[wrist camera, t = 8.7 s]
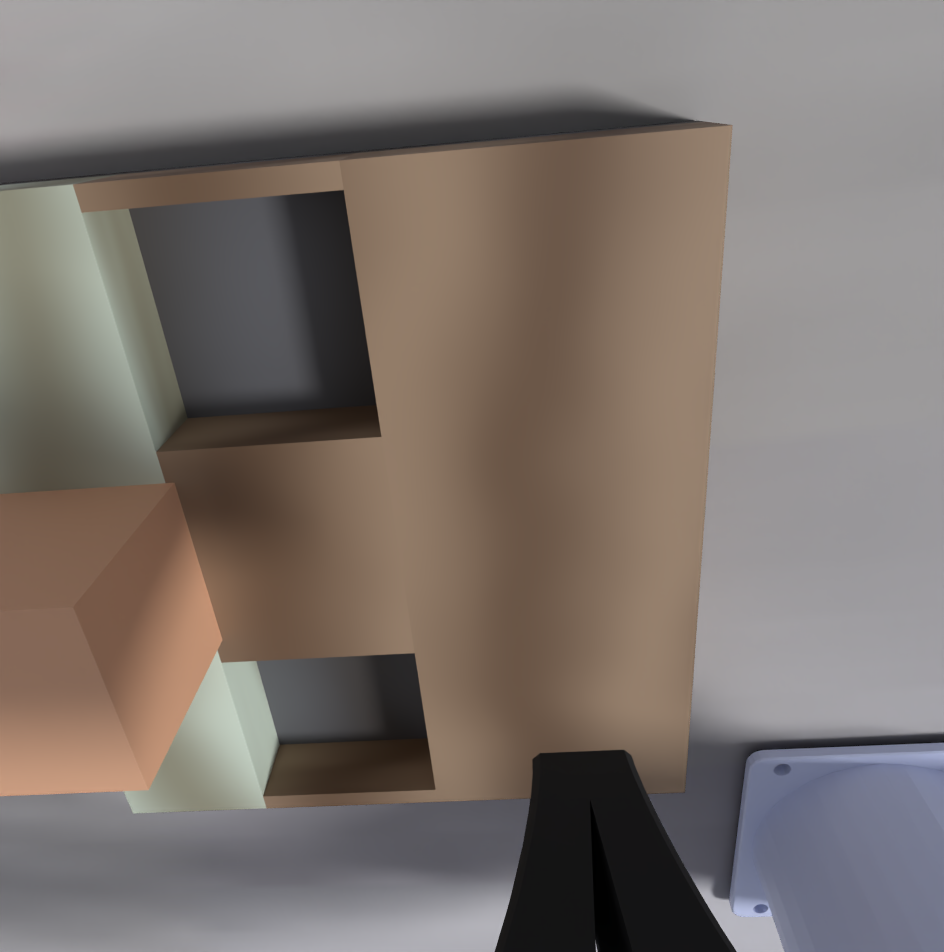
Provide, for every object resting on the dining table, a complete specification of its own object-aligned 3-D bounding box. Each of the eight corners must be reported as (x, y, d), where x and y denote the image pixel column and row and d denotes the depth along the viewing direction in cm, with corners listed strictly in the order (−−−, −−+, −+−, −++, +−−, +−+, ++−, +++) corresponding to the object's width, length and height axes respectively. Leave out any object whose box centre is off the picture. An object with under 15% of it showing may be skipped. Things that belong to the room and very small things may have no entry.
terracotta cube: (174, 482, 16) (73, 607, 12) (222, 640, 19) (148, 790, 15) (-18, 495, 17) (-178, 620, 13) (50, 649, 19) (-69, 798, 15)
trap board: (697, 120, 15) (732, 125, 13) (666, 724, 23) (684, 792, 21) (-46, 187, 16) (-133, 202, 14) (166, 746, 24) (133, 813, 22)
